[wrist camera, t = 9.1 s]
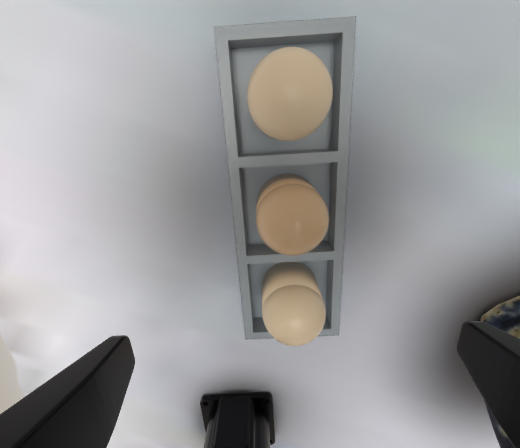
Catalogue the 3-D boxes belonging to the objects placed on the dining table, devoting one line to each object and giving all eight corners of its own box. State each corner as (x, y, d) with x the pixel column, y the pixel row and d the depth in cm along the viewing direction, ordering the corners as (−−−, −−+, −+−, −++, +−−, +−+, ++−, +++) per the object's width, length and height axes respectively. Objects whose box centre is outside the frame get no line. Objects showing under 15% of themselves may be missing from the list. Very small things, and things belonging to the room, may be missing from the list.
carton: (331, 315, 22) (354, 376, 16) (246, 319, 22) (242, 381, 17) (342, 31, 15) (387, -19, 10) (220, 39, 15) (199, -5, 10)
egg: (316, 230, 18) (336, 267, 14) (258, 233, 19) (257, 271, 14) (318, 171, 17) (340, 190, 12) (254, 175, 17) (252, 195, 12)
